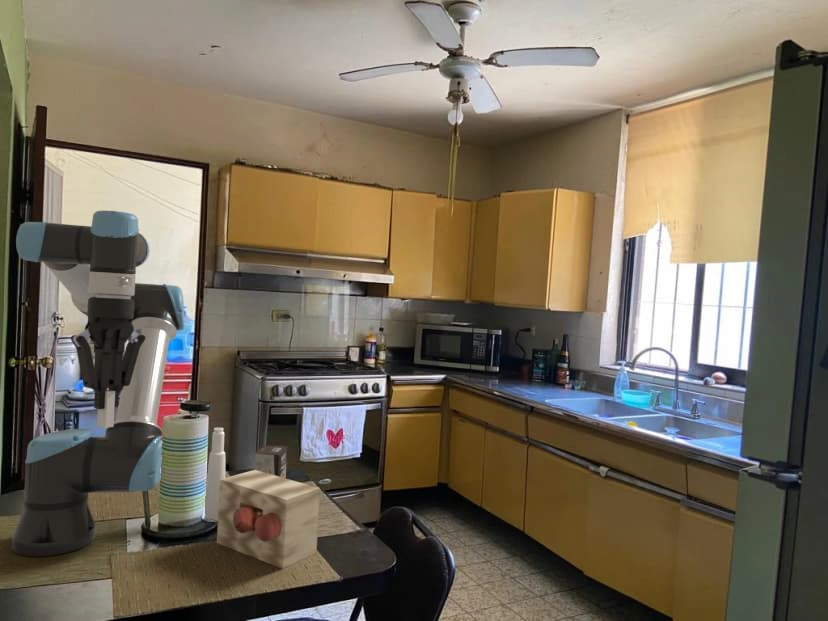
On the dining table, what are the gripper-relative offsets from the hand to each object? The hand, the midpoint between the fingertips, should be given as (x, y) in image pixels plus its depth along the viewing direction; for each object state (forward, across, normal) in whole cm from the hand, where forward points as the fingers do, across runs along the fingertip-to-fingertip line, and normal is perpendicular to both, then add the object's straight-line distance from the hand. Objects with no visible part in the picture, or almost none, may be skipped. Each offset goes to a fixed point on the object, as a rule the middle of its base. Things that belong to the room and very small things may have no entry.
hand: (105, 426), depth 107 cm
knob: (+24, +30, -11) cm, 40 cm away
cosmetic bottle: (+30, +35, +11) cm, 47 cm away
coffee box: (+30, +46, +4) cm, 55 cm away
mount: (+29, +30, -11) cm, 43 cm away
